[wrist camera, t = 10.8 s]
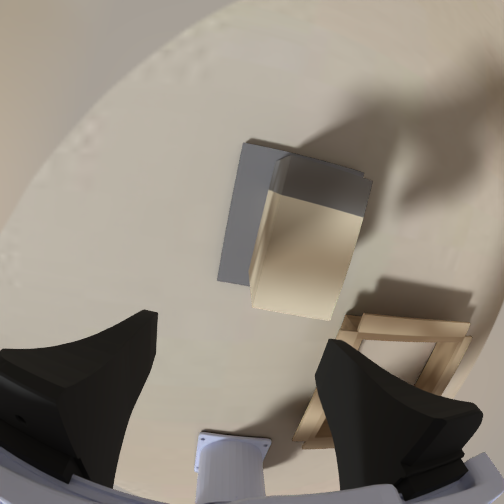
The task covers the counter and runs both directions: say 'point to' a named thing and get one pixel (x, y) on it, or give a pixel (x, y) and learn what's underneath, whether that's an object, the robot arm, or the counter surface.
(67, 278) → the counter surface
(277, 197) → the box
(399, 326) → the square wooden frame
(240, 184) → the mat
